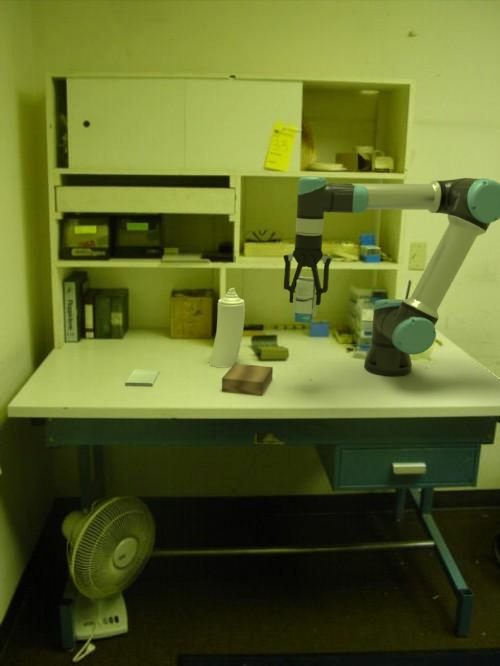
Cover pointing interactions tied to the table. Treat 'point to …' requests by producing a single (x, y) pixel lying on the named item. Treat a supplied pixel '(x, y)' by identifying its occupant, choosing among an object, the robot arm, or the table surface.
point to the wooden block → (247, 379)
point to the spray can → (228, 330)
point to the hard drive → (142, 377)
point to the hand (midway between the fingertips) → (304, 314)
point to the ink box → (304, 299)
